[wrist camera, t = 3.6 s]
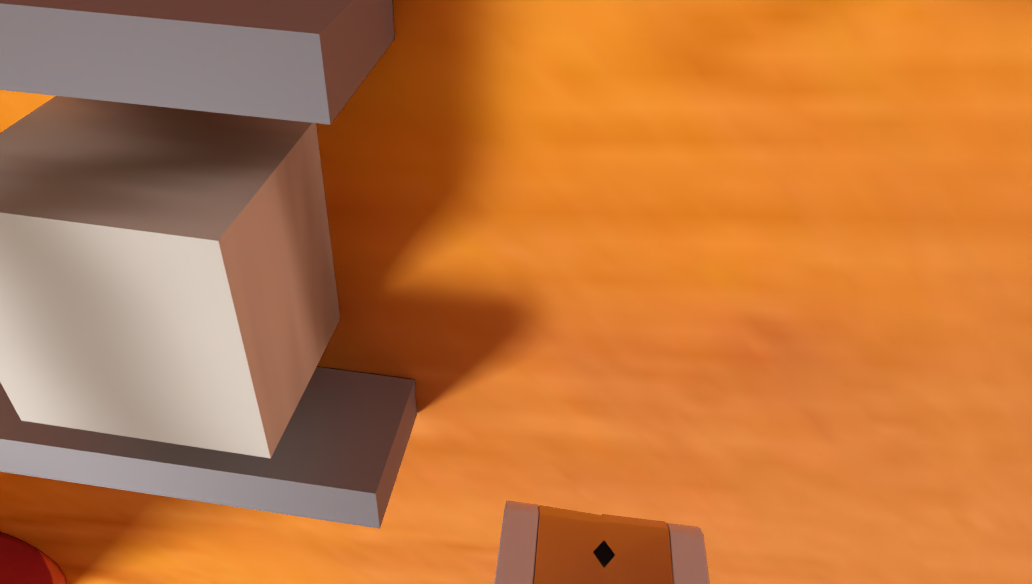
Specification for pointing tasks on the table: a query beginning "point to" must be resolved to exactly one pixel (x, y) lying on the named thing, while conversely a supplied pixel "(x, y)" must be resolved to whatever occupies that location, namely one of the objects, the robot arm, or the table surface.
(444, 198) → the table surface
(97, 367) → the beige block
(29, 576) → the paper cup
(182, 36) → the walled channel
